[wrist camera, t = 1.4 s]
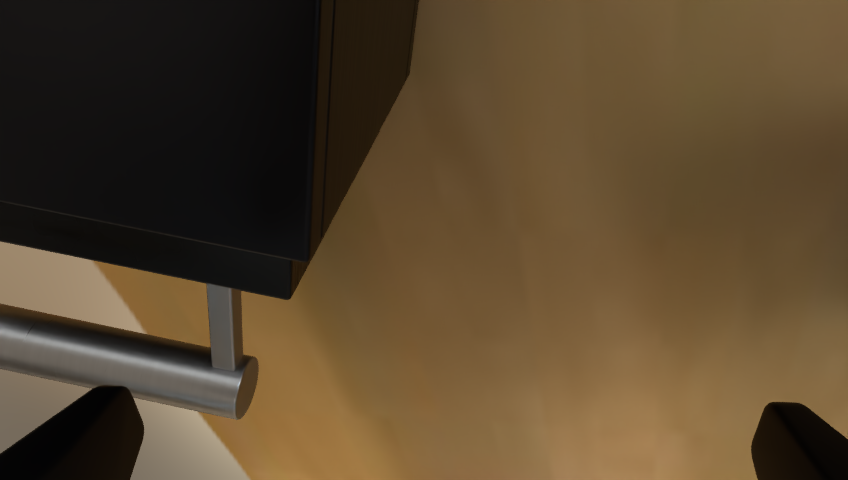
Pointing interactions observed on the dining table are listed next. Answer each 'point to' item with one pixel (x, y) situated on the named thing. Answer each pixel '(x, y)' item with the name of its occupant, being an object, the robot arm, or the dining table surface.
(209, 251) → the drawer with bar handle
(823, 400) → the dining table surface
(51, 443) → the robot arm
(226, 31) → the cabinet
